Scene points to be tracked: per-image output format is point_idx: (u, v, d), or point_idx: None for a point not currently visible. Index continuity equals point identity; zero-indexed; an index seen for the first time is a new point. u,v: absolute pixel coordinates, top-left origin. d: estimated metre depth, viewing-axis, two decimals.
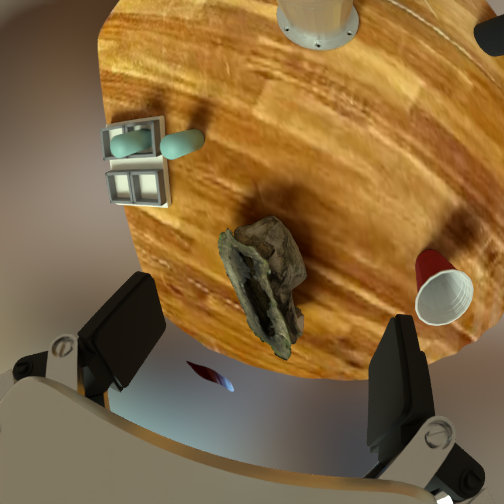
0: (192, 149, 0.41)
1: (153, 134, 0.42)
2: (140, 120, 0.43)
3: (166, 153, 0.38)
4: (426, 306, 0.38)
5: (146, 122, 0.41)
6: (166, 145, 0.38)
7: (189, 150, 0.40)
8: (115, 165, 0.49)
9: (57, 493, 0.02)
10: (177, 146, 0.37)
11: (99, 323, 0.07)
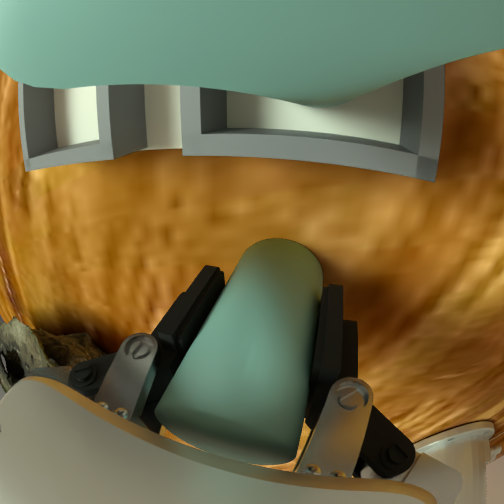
0: None
1: (342, 160, 0.06)
2: None
3: (180, 418, 0.06)
4: None
5: (435, 123, 0.05)
6: (228, 436, 0.05)
7: None
8: None
9: (57, 493, 0.02)
10: (227, 453, 0.07)
11: (182, 319, 0.08)
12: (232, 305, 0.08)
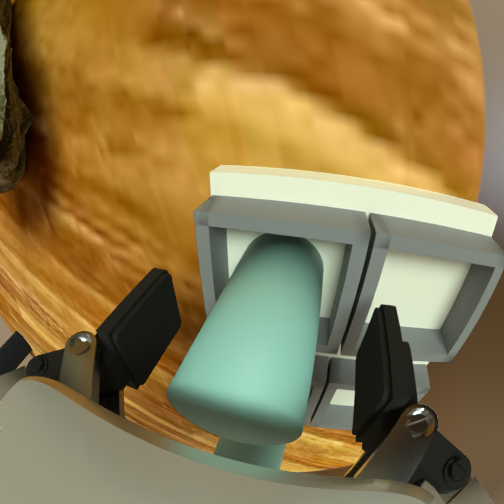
0: None
1: None
2: None
3: (192, 395, 0.06)
4: None
5: None
6: (238, 412, 0.06)
7: None
8: None
9: (57, 493, 0.02)
10: (235, 434, 0.07)
11: (119, 320, 0.08)
12: (239, 290, 0.09)
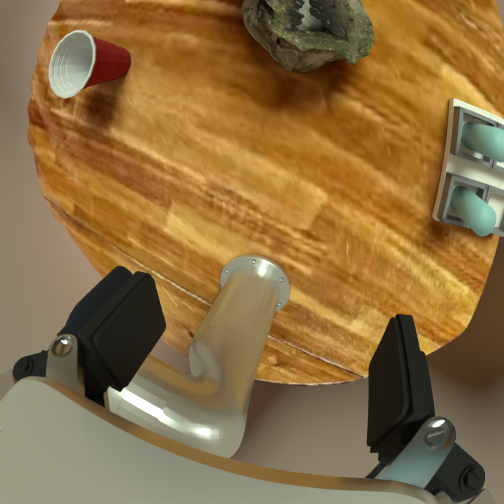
0: (476, 149, 0.22)
1: (446, 205, 0.29)
2: None
3: (495, 135, 0.18)
4: (89, 38, 0.24)
5: (450, 222, 0.30)
6: (502, 140, 0.17)
7: (480, 151, 0.21)
8: None
9: (57, 493, 0.02)
10: (499, 155, 0.18)
11: (99, 324, 0.07)
12: (483, 125, 0.20)
